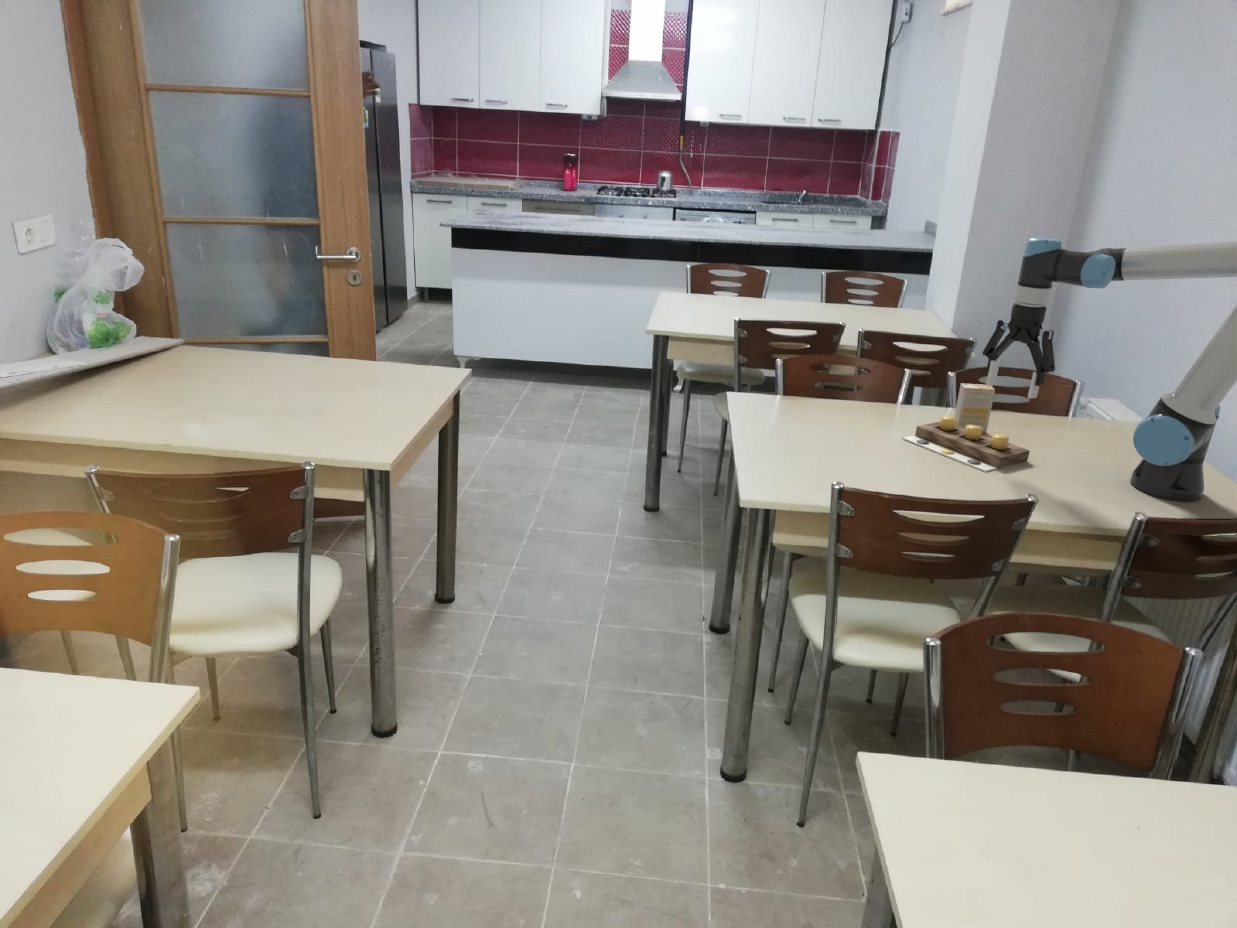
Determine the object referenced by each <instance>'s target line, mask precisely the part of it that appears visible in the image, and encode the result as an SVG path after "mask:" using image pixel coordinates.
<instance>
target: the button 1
mask: <svg viewBox="0 0 1237 928" xmlns="http://www.w3.org/2000/svg"><path fill="white" fill-rule="evenodd" d="M954 417H955V416H950V415H949V416H948V415H942V416H940V421H939V422H940V424H939V428H941V429H943V430H950V431H951V430H954V429H955V424H956V420H957V419H956V418H954Z"/></svg>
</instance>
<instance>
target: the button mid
mask: <svg viewBox="0 0 1237 928" xmlns="http://www.w3.org/2000/svg"><path fill="white" fill-rule="evenodd" d="M981 431H982V428H981V427H980V426H976V425H966V428H965V433H964V437H965V438H968V439H972V440H979V439H980V436H981Z"/></svg>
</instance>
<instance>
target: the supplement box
mask: <svg viewBox="0 0 1237 928" xmlns="http://www.w3.org/2000/svg"><path fill="white" fill-rule="evenodd" d="M995 393H996V389H995V388H994V387H993V385H992V386H987V385H986V384H981V383H980V384H979V383H963V382H960V386H959V391H958V397H957V402H956V407H955V412H954V416H953V417H954V418H956V419H957V420H956V424H957V425H960V426H963V427H965V428H966V425H976V426H980V427H981V428H982V431H981V433H982V434H985V435H987V432H988V431H987V430H988V428H989V427H988V426H989V423H990V417H991V410H992V406H993V401H994V398H995V397H994V396H995Z"/></svg>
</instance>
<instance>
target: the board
mask: <svg viewBox="0 0 1237 928" xmlns="http://www.w3.org/2000/svg"><path fill="white" fill-rule="evenodd" d="M939 424H940V421H937V422H932V423H925V424H920V425H917V426H916V429H915V435H914V436H916V437H918V438H921V439H924V440H926V441H929V442H931V443H934V444H936V445H939V446H942V447H944V448H947V449H949V450H952V451H955V452H957V453H960V454H962V455H965V456H967V457H970V458H973V459H975V460H978V461H980V462H983V463H986V464H988V465H991V466H993V467H996V469H997V470H999V469H1003V468H1008V467H1011V466H1015V465H1018V464H1022V463H1027V462H1028V460H1029V457H1030V450H1029V449H1026V448H1024V447H1020V446H1019V445H1015V444H1013V443H1010V442H1008V445H1007V449H1005V450H1000V449H995V448H992V447H991V446H990V444H991V439H992V436H990V435H987V434H982V433H981V436H980V439H979V440H972V439H968V438H965V437H964V433H965V427H963V426H960V425H957V424H955V429H954V430H951V431H950V430H943V429H941V428H939Z"/></svg>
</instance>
